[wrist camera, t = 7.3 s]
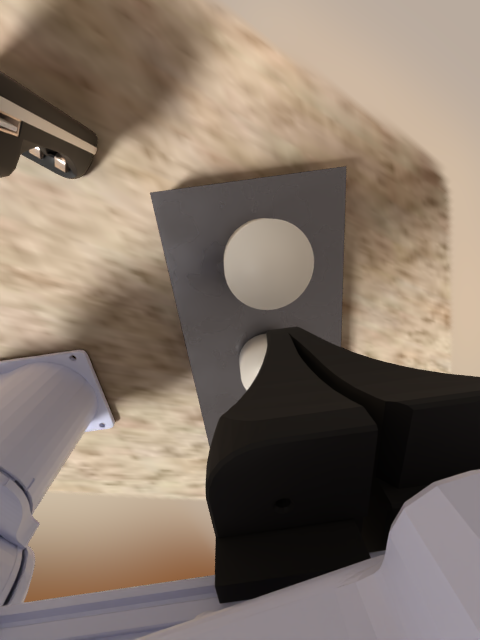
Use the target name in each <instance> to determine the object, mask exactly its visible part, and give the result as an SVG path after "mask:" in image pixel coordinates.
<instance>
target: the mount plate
mask: <svg viewBox="0 0 480 640" xmlns="http://www.w3.org/2000/svg"><path fill="white" fill-rule="evenodd" d="M345 194H346V166H345V167H337V168H330V169H323V170H315V171H308V172H300V173H293V174H286V175H278V176H271V177H263V178H256V179H248V180H241V181H234V182H226V183H219V184H211V185H204V186H197V187H189V188H182V189H174V190H167V191H159V192H152V193H150V195H151V199H152V203H153V208H154V212H155V216H156V220H157V225H158V229H159V233H160V237H161V242H162V246H163V250H164V254H165V259H166V263H167V267H168V272H169V276H170V280H171V284H172V289H173V293H174V297H175V301H176V306H177V310H178V314H179V318H180V323H181V327H182V331H183V335H184V340H185V344H186V348H187V352H188V357H189V361H190V365H191V369H192V374H193V378H194V382H195V387H196V391H197V395H198V399H199V404H200V408H201V412H202V416H203V421H204V425H205V429H206V433H207V438H208V442H209V446H211V442H212V439H213V435H214V432H215V429H216V426H217V423H218V420H219V418H220V417H221V416H222V415H223V414H224V413H225V412H227V411H228V410H229V409H230V408H231V407H232V406H233V405H235V404H236V403H237V402H238V401H239V399H240V398H241V397H242V396H243V395H244V393H245V392H246V391H247V390H246V389H245V387H244V386H243V383H242V380H241V373H240V365H239V355H240V352H241V349H242V348H243V346H244V345H245V344H246V343H247V341H249V340H250V339H252V338H253V337H255V336H257V335H260V334H266V333H267V331H268V330H274V329H281V328H289V327H300V328H302V329H304V330H306V331H308V332H310V333H312V334H314V335H316V336H318V337H320V338H322V339H324V340H326V341H328V342H330V343H332V344H335V345H337V346H339V347H341V328H342V295H343V261H344V227H345ZM260 218H269V219H279V220H284V221H287V222H289V223H291V224H293V225H295V226H296V227H297V228H299V229H300V230H301V231H302V232H303V233H304V234H305V236H306V237H307V238H308V240H309V242H310V244H311V247H312V250H313V255H314V269H313V274H312V277H311V280H310V282H309V284H308V286H307V287H306V289H305V290H304V292H303V293H302V294H301V295H300V296H299V297H298V298H297V299H296V300H295V301H293V302H292V303H290V304H288V305H286V306H284V307H281V308H278V309H273V310H260V309H255V308H252V307H250V306H247V305H245V304H244V303H242V302H241V301H240V300H238V299H237V298H236V297H235V296H234V294H233V293H232V292H231V290H230V288H229V286H228V284H227V282H226V278H225V274H224V252H225V248H226V245H227V242H228V240H229V239H230V237H231V235H232V234H233V233H234V232H235V231H236V230H237V229H238V228H239V227H240V226H242V225H243V224H245V223H247V222H248V221H251V220H254V219H260Z"/></svg>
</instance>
